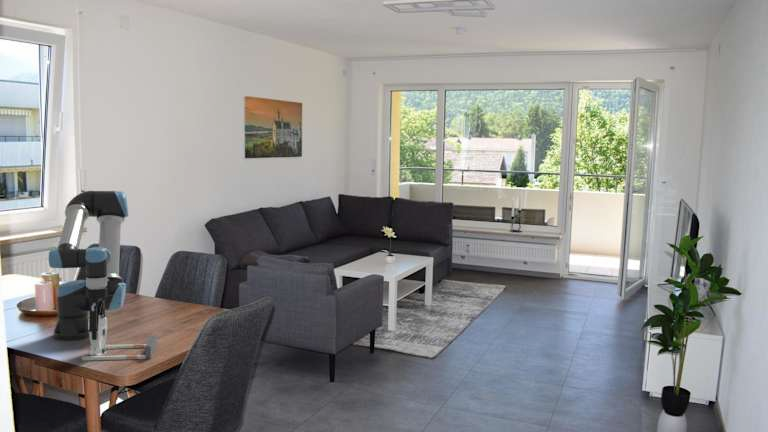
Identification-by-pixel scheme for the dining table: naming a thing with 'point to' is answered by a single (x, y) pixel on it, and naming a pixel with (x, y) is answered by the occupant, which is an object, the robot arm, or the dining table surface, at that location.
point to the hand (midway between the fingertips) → (98, 343)
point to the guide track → (148, 347)
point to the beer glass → (100, 337)
